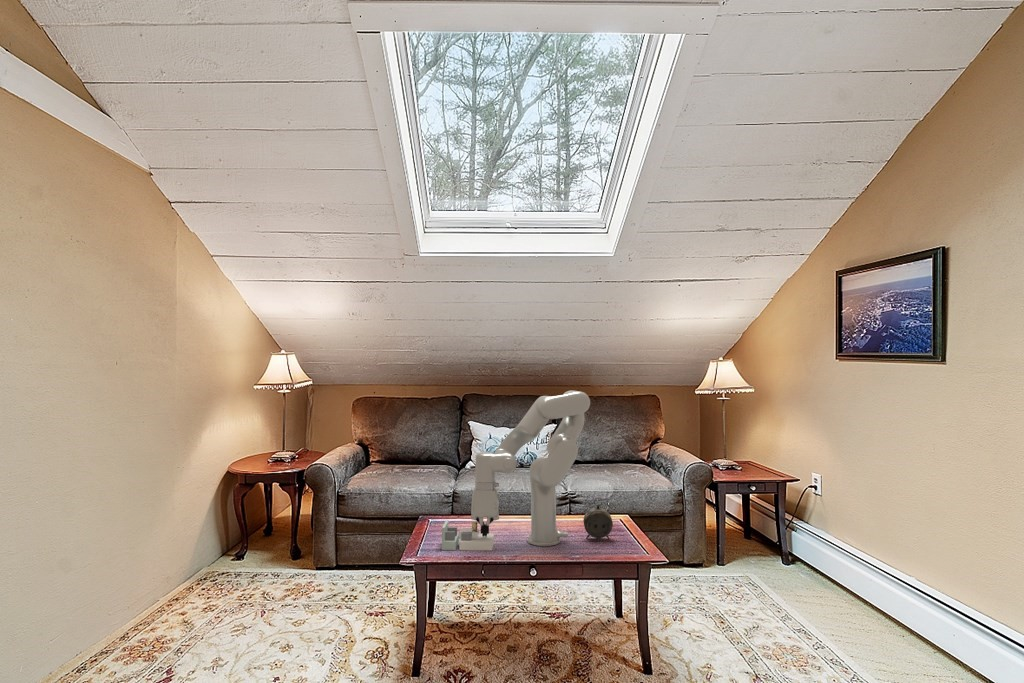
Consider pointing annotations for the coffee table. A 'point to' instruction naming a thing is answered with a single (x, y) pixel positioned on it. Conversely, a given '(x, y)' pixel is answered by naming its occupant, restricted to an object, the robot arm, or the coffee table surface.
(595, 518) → the alarm clock
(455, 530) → the door jamb
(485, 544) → the door board
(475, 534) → the bolt
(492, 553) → the coffee table surface
